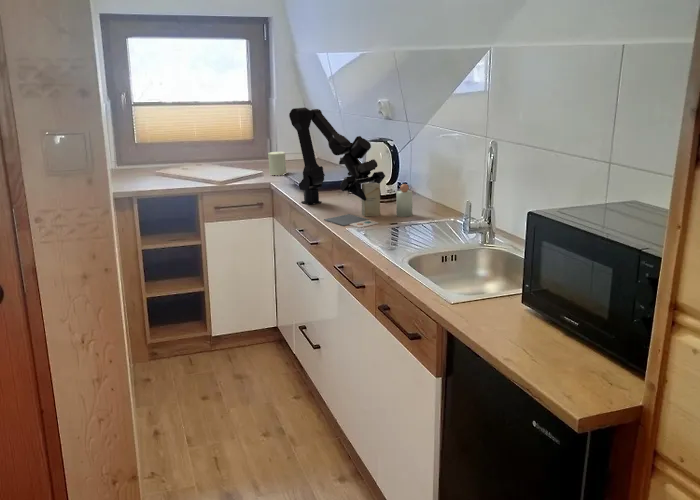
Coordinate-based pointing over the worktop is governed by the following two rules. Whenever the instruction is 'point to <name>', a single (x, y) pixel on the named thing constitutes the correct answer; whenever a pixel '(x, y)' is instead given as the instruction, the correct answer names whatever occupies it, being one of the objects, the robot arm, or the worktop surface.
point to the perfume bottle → (404, 201)
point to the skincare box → (371, 199)
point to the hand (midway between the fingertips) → (373, 198)
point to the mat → (345, 219)
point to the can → (277, 163)
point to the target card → (363, 223)
